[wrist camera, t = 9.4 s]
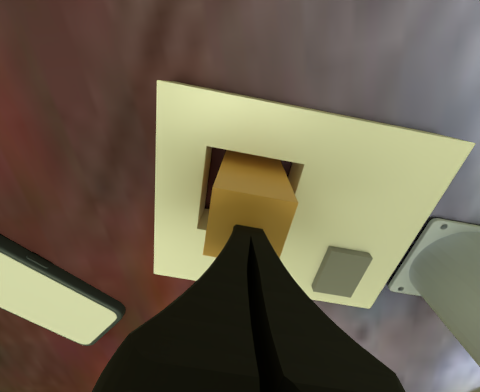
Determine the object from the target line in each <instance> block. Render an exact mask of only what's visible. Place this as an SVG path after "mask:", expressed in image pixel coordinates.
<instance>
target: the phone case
mask: <svg viewBox="0 0 480 392" xmlns="http://www.w3.org/2000/svg"><path fill="white" fill-rule="evenodd" d="M0 308H2V309H4V310H6V311H8V312H11V313H13V314H15V315H17V316H19V317H22V318H24V319H26V320H28V321H30V322H32V323H35V324H37V325H39V326H41V327H43V328H46V329H48V330H50V331H52V332H54V333H57V334H59V335H61V336H63V337H65V338H68V339H70V340H72V341H74V342H76V343H79V344H81V345H85V346H89V345H93V344H94V343H96V342H97V341H98V340H99V339H100V338H101V337H102V336H103V335H104V334H106V333H107V332H108V331H109V330H110V329H111V328H112V327H113V326H114V325H115V324H116V323H118V322H119V321H120V320H121V319H122V317H123V315H124V313H125V310H126V309H125V307H124V305H123V304H122V303H120V302H119V301H117V300H115V299H114V298H112V297H110V296H108V295H107V294H105V293H103V292H101V291H100V290H98V289H96V288H94V287H93V286H91V285H89V284H87V283H86V282H84V281H82V280H80V279H79V278H77V277H75V276H73V275H71V274H70V273H68V272H66V271H64V270H63V269H61V268H59V267H57V266H56V265H54V264H52V263H50V262H49V261H47V260H45V259H43V258H42V257H40V256H38V255H36V254H34V253H33V252H31V251H29V250H27V249H26V248H24V247H22V246H20V245H18V244H17V243H15V242H13V241H11V240H10V239H8V238H6V237H4V236H2V235H1V234H0Z"/></svg>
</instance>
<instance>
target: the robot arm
mask: <svg viewBox="0 0 480 392" xmlns="http://www.w3.org/2000/svg"><path fill="white" fill-rule="evenodd" d="M388 288H389V289H390V290H391V291H393V292H399V293H405V294H411V295H417V296H422V297H423V298H424V300H425V301H426V302H427V303H428V305H429V306H430V307H431V308H432V309H433V311H434V312H435V313H436V314H437V316H438V317H439V318H440V319H441V320H442V322H443V323H444V324H445V325H446V326H447V328H448V329H449V330H450V331H451V333H452V334H453V335H454V336H455V337H456V339H457V340H458V341H459V342H460V343H461V345H462V346H463V347H464V348H465V350H466V351H467V352H468V353H469V354H470V356H471V357H472V358H473V359H474V360H475V362H476V363H477V364H478V365H479V367H480V226H479V225H473V224H468V223H462V222H457V221H451V220H446V219H440V218H434V219H432V220H430V221H429V223H428V224H427V226H426V227H425V229H424V230H423V232H422V234H421V235H420V237H419V238H418V240H417V241H416V243H415V244H414V246H413V247H412V249H411V250H410V252H409V254H408V255H407V257H406V258H405V260H404V261H403V263H402V264H401V266H400V267H399V269H398V270H397V272H396V274H395V275H394V277H393V278H392V280H391V281H390V283H389V284H388ZM92 392H405V390H404V388H403V386H402V384H401V383H400V381H399V379H398V377H397V376H396V374H395V373H394V372H393V371H392V370H390V369H389V368H388V367H387V366H385V365H384V364H383V363H382V362H380V361H379V360H378V359H376V358H375V357H374V356H373V355H371V354H370V353H369V352H368V351H366V350H365V349H364V348H362V347H361V346H360V345H359V344H358V343H356V342H355V341H354V340H353V339H352V338H351V337H350V336H348V335H347V334H346V333H345V332H344V331H343V330H342V329H340V328H339V327H338V326H337V325H336V324H335V323H334V322H333V321H332V320H331V319H330V318H329V317H328V316H327V315H326V314H325V313H324V312H323V311H322V310H321V309H320V308H319V307H318V306H317V305H316V304H315V303H314V302H313V301H312V300H311V299H310V298H309V297H308V296H307V294H306V293H305V292H304V291H303V290H302V289H301V287H300V286H299V285H298V284H297V283H296V281H295V280H294V279H293V277H292V276H291V275H290V273H289V272H288V270H287V269H286V268H285V266H284V265H283V263H282V262H281V260H280V258H279V257H278V255H277V254H276V252H275V250H274V249H273V247H272V245H271V243H270V242H269V240H268V238H267V236H266V234H265V232H264V231H263V229H260V228H254V227H249V226H243V225H237V224H236V225H235V226H234V227H233V231H232V234H231V236H230V238H229V240H228V241H227V243H226V245H225V246H224V248H223V249H222V251H221V252H220V254H219V255H218V256H217V258H216V259H215V260H214V262H213V263H212V264H211V265H210V267H209V268H208V269H207V270H206V271H205V272H204V273H203V275H202V276H201V277H200V278H199V279H198V280H197V281H196V282H195V283H194V284H193V285H192V286H191V287H190V288H189V289H187V290H186V291H185V292H184V293H183V294H182V295H181V296H179V297H178V298H177V299H176V300H175V301H173V302H172V303H171V304H170V305H168V306H167V307H166V308H165V309H164V310H162V311H161V312H160V313H158V314H157V315H155V316H154V317H153V318H151V319H150V320H148V321H147V322H145V323H144V324H143V325H141V326H140V327H138V328H137V329H135V330H134V331H132V332H131V333H130V334H129V335H128V336H127V337H126V338H125V340H124V341H123V342H122V344H121V345H120V346H119V348H118V349H117V350H116V352H115V353H114V355H113V356H112V358H111V359H110V361H109V362H108V364H107V366H106V367H105V369H104V370H103V372H102V373H101V375H100V377H99V379H98V381H97V383H96V385H95V387H94V389H93V390H92Z"/></svg>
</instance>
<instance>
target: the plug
mask: <svg viewBox="0 0 480 392" xmlns="http://www.w3.org/2000/svg"><path fill="white" fill-rule="evenodd" d="M297 206H298V201H297V198H296V196H295V194H294V191H293V189H292V187H291V184H290V182H289V180H288V177H287V175H286V172H285V170H284V168H283V165H282V163H281V161H280V160H279V159H273V158H268V157H263V156H257V155H252V154H247V153H241V152H236V151H231V150H226V152H225V155H224V158H223V160H222V163H221V166H220V169H219V171H218V174H217V177H216V179H215V182H214V185H213V188H212V195H211V202H210V209H209V215H208V222H207V229H206V236H205V243H204V249H203V255H205V256H211V257H217V256H218V255H219V254H220V252H221V251H222V249H223V248H224V246H225V245H226V243H227V241H228V240H229V238H230V236H231V234H232V231H233V227H234V226H235V225H236V224H237V225H243V226H249V227H254V228H260V229H263V231H264V232H265V234H266V236H267V238H268V240H269V242H270V243H271V245H272V247H273V249H274V250H275V252H276V254H277V255H278V257H279V258H280V256H281V253H282V250H283V247H284V244H285V241H286V238H287V235H288V232H289V229H290V226H291V223H292V220H293V218H294V215H295V212H296V209H297Z"/></svg>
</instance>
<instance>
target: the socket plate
mask: <svg viewBox="0 0 480 392" xmlns="http://www.w3.org/2000/svg"><path fill="white" fill-rule="evenodd" d="M475 144H476V143H472V142H468V141H464V140H460V139H456V138H452V137H448V136H444V135H440V134H436V133H431V132H426V131H421V130H416V129H411V128H406V127H401V126H396V125H391V124H386V123H380V122H375V121H370V120H365V119H360V118H355V117H350V116H345V115H340V114H335V113H330V112H325V111H320V110H315V109H310V108H305V107H300V106H295V105H290V104H285V103H280V102H275V101H270V100H265V99H260V98H255V97H250V96H245V95H240V94H235V93H230V92H225V91H220V90H215V89H210V88H205V87H200V86H195V85H190V84H185V83H180V82H175V81H164V80H157V109H156V171H155V232H154V274H159V275H165V276H171V277H177V278H183V279H190V280H196V281H197V280H198V279H199V278H200V277H201V276H202V275H203V273H204V272H205V271H206V270H207V269H208V268H209V267H210V265H211V264H212V263H213V262H214V260H215V259H216V258H217V257H211V256H205V255H203V249H204V243H205V236H206V229H207V222H208V215H209V209H205V201H206V193H207V186H208V178H209V170H210V162H211V154H212V147H215V148H220V149H225V150H231V151H236V152H241V153H247V154H252V155H257V156H263V157H268V158H273V159H279V160H284V161H289V162H292V166H291V169H290V173H289V176H288V180H289V182H290V184H291V187H292V189H293V191H294V194H295V196H296V198H297V201H298V206H297V209H296V212H295V215H294V218H293V220H292V223H291V226H290V229H289V232H288V235H287V238H286V241H285V244H284V247H283V250H282V253H281V256H280V260H281V262H282V263H283V265H284V266H285V268H286V269H287V270H288V272H289V273H290V275H291V276H292V277H293V279H294V280H295V281H296V283H297V284H298V285H299V286H300V287H301V289H302V290H303V291H304V292H305V293H306V294H307V296H308V297H309V298H310V299H313V300H319V301H325V302H331V303H337V304H343V305H350V306H356V307H362V308H368V309H370V307H371V306H372V304H373V303H374V301H375V300H376V298H377V297H378V295H379V293H380V292H381V290H382V289H383V287H384V286H385V284H386V282H387V281H388V279H389V278H390V276H391V275H392V273H393V272H394V270H395V268H396V267H397V265H398V264H399V262H400V261H401V259H402V258H403V256H404V254H405V253H406V251H407V250H408V248H409V247H410V245H411V244H412V242H413V240H414V239H415V237H416V236H417V234H418V233H419V231H420V229H421V228H422V226H423V225H424V223H425V222H426V220H427V219H428V217H429V215H430V214H431V212H432V211H433V209H434V208H435V206H436V205H437V203H438V201H439V200H440V198H441V197H442V195H443V194H444V192H445V190H446V189H447V187H448V186H449V184H450V183H451V181H452V180H453V178H454V176H455V175H456V173H457V172H458V170H459V169H460V167H461V166H462V164H463V162H464V161H465V159H466V158H467V156H468V155H469V153H470V152H471V150H472V148H473V147H474V145H475Z"/></svg>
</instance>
